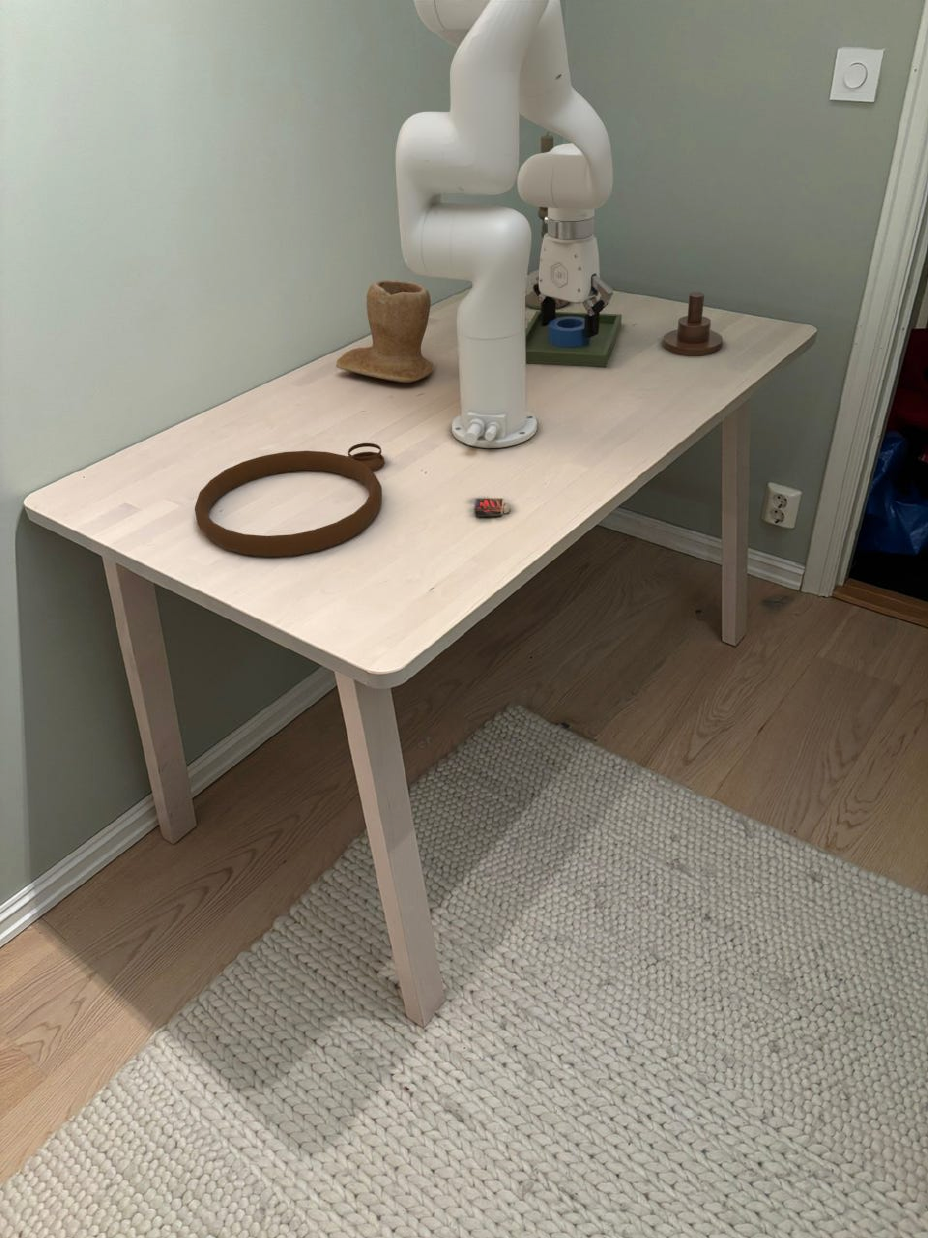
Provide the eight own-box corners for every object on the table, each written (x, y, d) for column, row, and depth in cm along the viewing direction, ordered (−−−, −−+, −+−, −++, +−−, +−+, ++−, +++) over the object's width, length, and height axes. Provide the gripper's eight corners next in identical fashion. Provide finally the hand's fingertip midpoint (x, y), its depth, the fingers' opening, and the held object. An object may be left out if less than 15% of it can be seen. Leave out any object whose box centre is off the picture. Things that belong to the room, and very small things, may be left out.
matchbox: (476, 519, 128) (476, 516, 128) (469, 500, 132) (469, 497, 132) (512, 515, 128) (512, 511, 128) (504, 496, 132) (504, 492, 132)
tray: (605, 367, 166) (606, 354, 165) (513, 362, 170) (513, 350, 169) (621, 325, 182) (621, 314, 180) (536, 321, 185) (536, 310, 184)
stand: (720, 357, 167) (726, 305, 162) (660, 354, 170) (663, 303, 165) (723, 335, 175) (729, 285, 170) (665, 333, 178) (669, 283, 172)
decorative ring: (444, 456, 136) (293, 559, 117) (445, 476, 138) (296, 580, 119) (310, 419, 148) (152, 506, 129) (313, 437, 150) (158, 526, 131)
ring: (586, 348, 172) (586, 331, 170) (545, 346, 174) (545, 329, 172) (592, 333, 177) (592, 317, 176) (553, 332, 179) (553, 315, 177)
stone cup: (449, 368, 169) (444, 278, 161) (408, 393, 161) (401, 300, 153) (378, 353, 176) (369, 266, 168) (335, 377, 168) (324, 287, 160)
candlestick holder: (546, 313, 189) (547, 139, 171) (513, 302, 195) (510, 133, 177) (580, 300, 193) (584, 130, 176) (546, 290, 199) (546, 124, 182)
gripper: (516, 224, 167) (517, 325, 177) (598, 241, 157) (595, 347, 167) (545, 214, 172) (545, 313, 182) (627, 230, 161) (622, 334, 171)
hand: (569, 329), depth 174 cm, fingers open, 9 cm apart
